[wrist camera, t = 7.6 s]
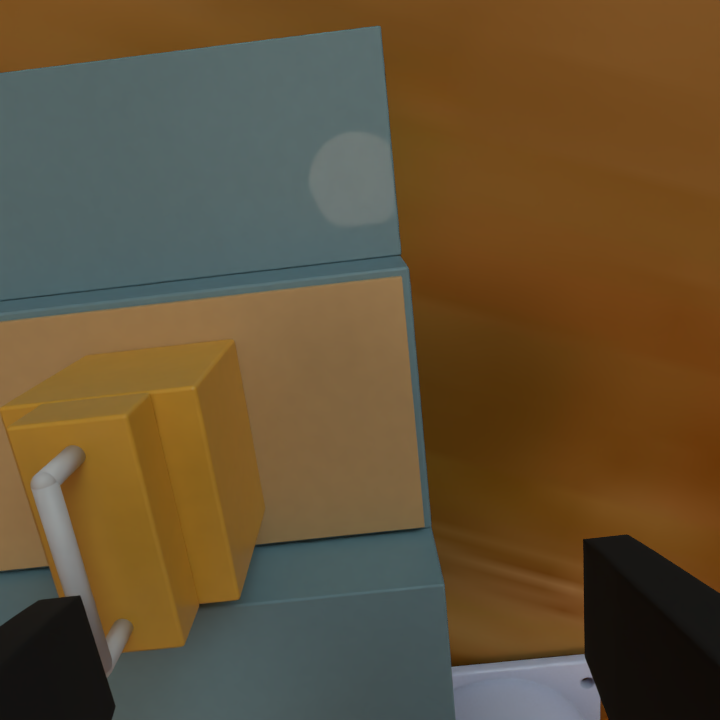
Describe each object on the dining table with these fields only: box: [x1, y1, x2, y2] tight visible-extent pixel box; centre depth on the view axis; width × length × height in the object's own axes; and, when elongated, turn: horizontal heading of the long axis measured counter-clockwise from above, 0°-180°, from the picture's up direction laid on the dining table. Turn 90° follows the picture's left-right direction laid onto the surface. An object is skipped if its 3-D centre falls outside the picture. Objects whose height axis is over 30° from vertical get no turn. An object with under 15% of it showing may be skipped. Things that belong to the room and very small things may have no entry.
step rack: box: [0, 26, 456, 720], centre depth 15 cm, size 18×12×6 cm, turn 6°
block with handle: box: [0, 339, 265, 677], centre depth 11 cm, size 5×4×6 cm
